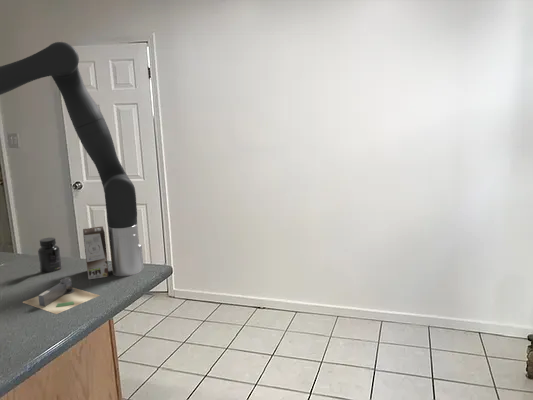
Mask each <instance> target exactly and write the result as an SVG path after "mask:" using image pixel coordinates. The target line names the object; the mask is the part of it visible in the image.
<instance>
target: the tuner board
mask: <svg viewBox="0 0 533 400" xmlns="http://www.w3.org/2000/svg"><path fill="white" fill-rule="evenodd" d="M100 296H101V295H100V294H96V293H93V292H89V291H86V290H82V289H79V288H76V287H73V286H72V291H70V292H66V293H65V294H63V295H62V296H60V297H58V298H57V299H55V300H54V301H52V302H50V303H49V304H47V305H46V306H40V304H39V297H38V295H36V296H35V297H31V298H29V299H26V300H24V301H22V303H23V304H26V305H28V306H32V307H35V308H37V309H41V310H43V311H46V312H48V313H51V314H54V315H58V314H60V313H63V312H65V311H68V310H70V309H72V308H75V307H77V306H79V305H81V304H83V303H86V302H89V301H91V300H93V299H95V298H98V297H100Z"/></svg>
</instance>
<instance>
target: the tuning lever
mask: <svg viewBox="0 0 533 400" xmlns="http://www.w3.org/2000/svg"><path fill="white" fill-rule="evenodd" d="M72 287H73V283H72V277H68V276H67V277H63V278H60V280H59V283H57V284H56V285H54V286H52V287H50V288H48V289H47V290H45V291H43V292H41V293H40V294H38V295H37V296H38V297H39V304H40V306H46V305H47V304H49V303H50V302H52V301H54V300H55V299H57V298H58V297H60V296H62V295H63V294H65V293H66V292H70V291H72Z"/></svg>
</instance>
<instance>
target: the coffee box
mask: <svg viewBox="0 0 533 400" xmlns="http://www.w3.org/2000/svg"><path fill="white" fill-rule="evenodd" d="M82 234H83V244H84V253H85V262H86V271H87V277H88V278H87V279H88V280H92V279H93V280H95V279H100V278H106V277H109V275H110V274H109V265H108V263H109V262H108V253H107V244H106V233H105V230H104V226H94V227H89V228H88V227H87V228H83V229H82Z"/></svg>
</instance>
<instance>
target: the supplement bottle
mask: <svg viewBox="0 0 533 400" xmlns="http://www.w3.org/2000/svg"><path fill="white" fill-rule="evenodd" d="M39 246H40V247H39V248H38V249H37V256H38V257H37V258H38V264H39V265H38V266H39V271H40V273H53V272H58V271H60V270H61V269H63V265H62V256H61V248H60V247H59V246H58V245H57V242H56V238H55V237H45V238H41V239H40V240H39Z"/></svg>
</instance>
